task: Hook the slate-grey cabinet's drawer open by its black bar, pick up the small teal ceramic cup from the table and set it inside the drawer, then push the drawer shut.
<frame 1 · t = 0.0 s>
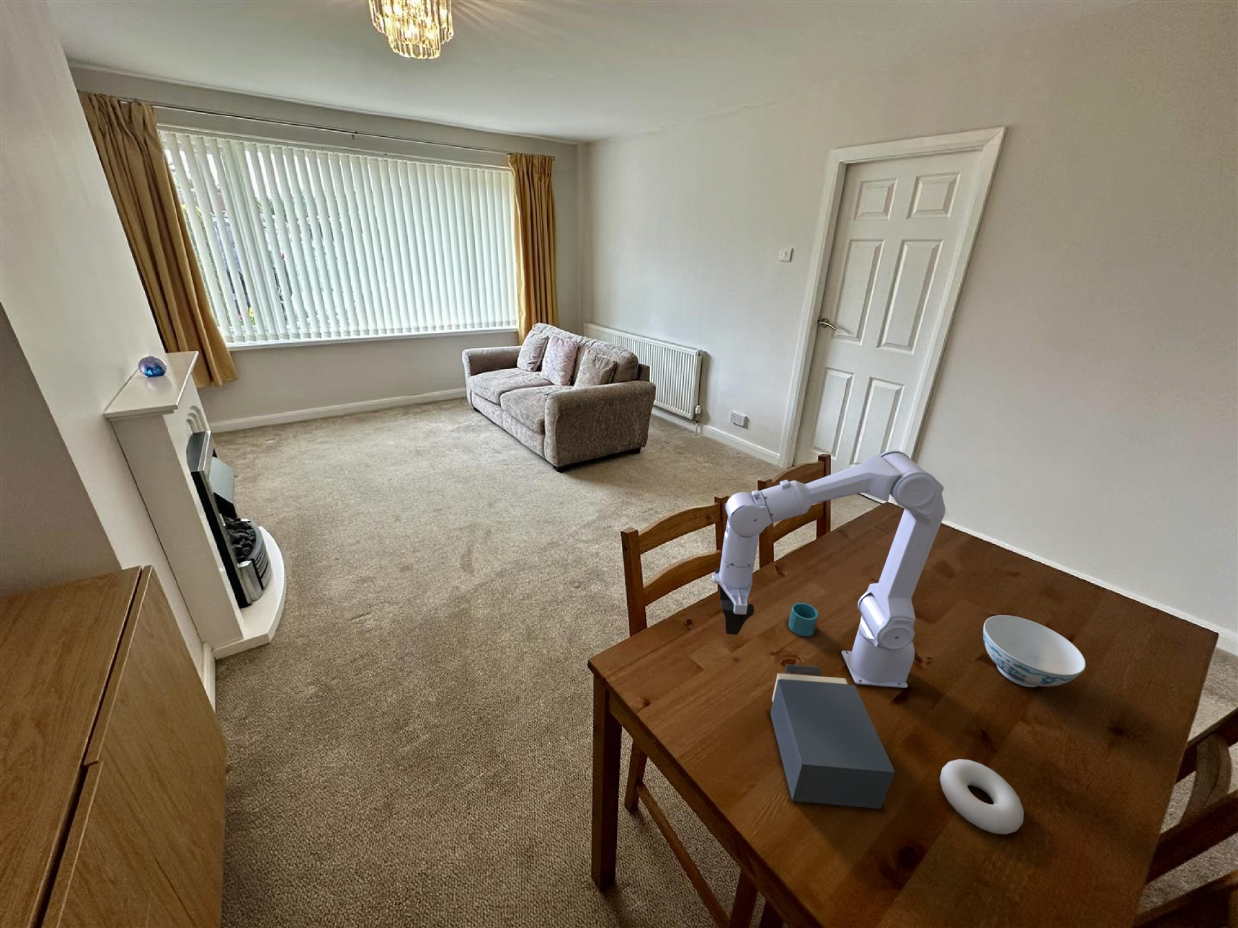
hand: (729, 618, 90), 10 cm above the table, tool pointing down, fingers open, 7 cm apart
donut: (976, 802, 71), on the table
cup: (801, 627, 103), on the table
cabinet: (820, 756, 76), on the table
chinaware: (1017, 673, 93), on the table
drawer: (816, 712, 79), point 4 cm above the table, slide at 1.0 cm
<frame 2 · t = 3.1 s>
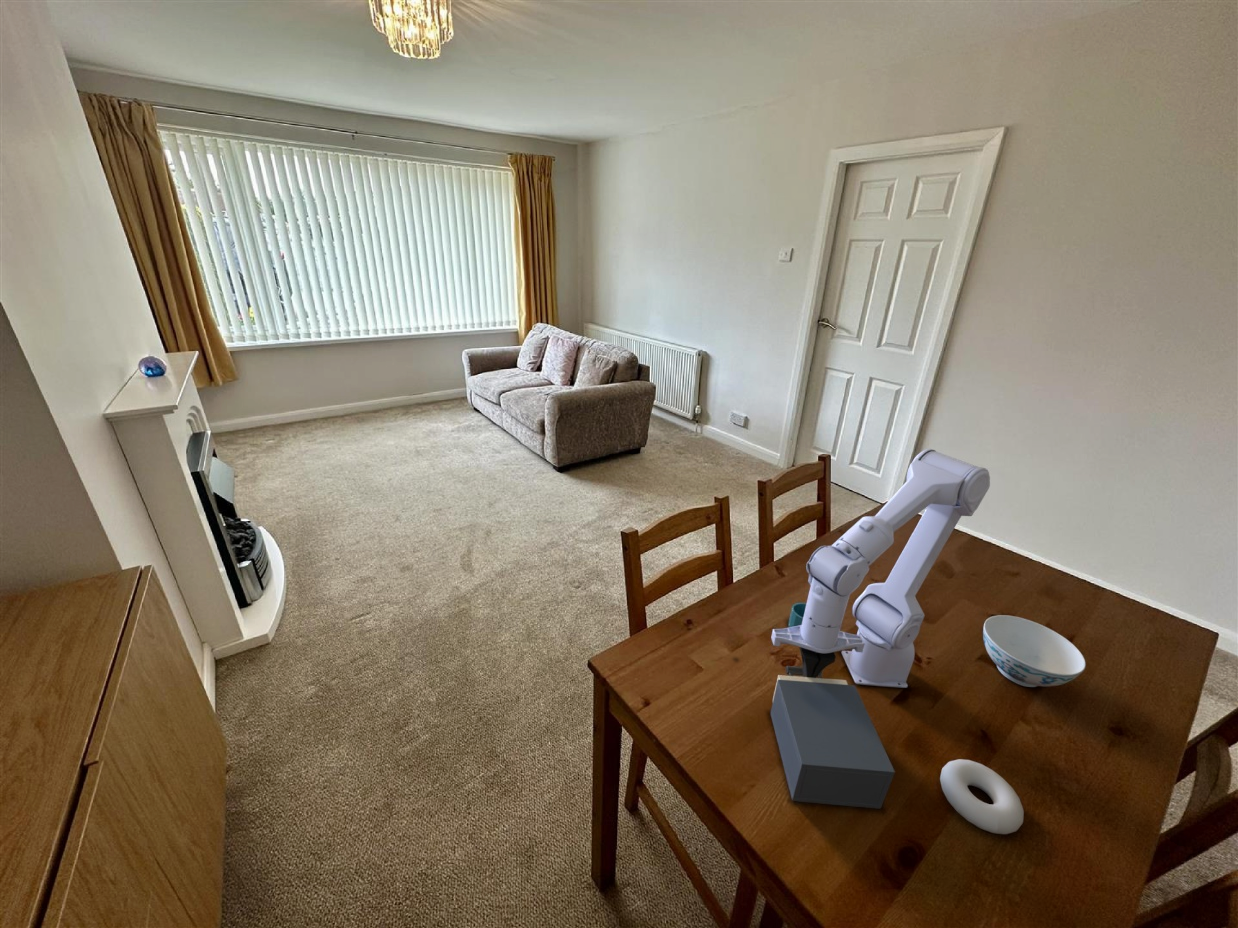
hand: (807, 676, 84), 6 cm above the table, tool pointing down, fingers closed
drawer: (816, 714, 79), point 4 cm above the table, slide at 0.6 cm
everything else where it was.
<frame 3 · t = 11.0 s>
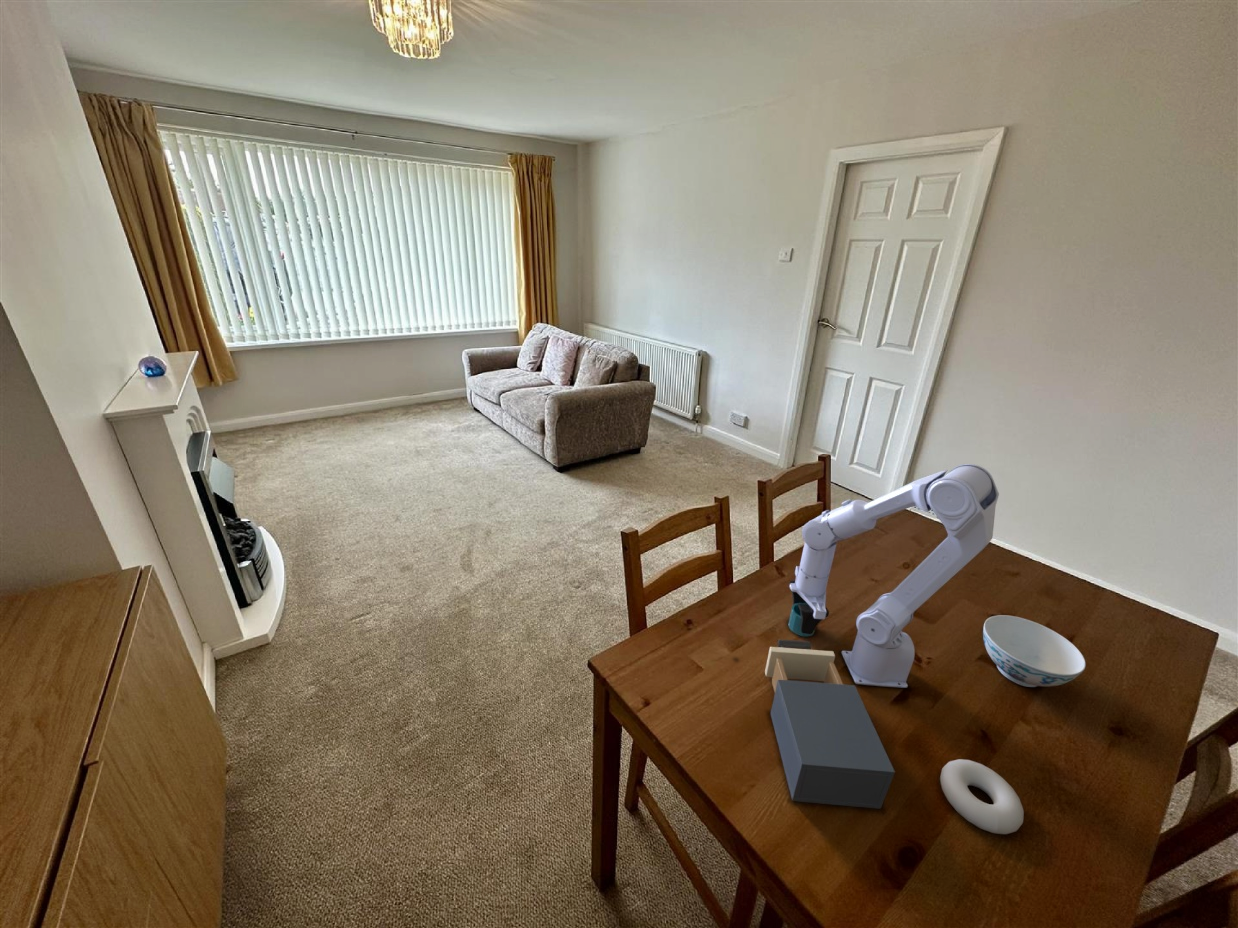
hand: (802, 622, 102), 1 cm above the table, tool pointing down, fingers closed on cup, 5 cm apart
cup: (801, 627, 103), on the table, touching gripper
drawer: (805, 682, 85), point 4 cm above the table, slide at 7.1 cm
everything else where it was.
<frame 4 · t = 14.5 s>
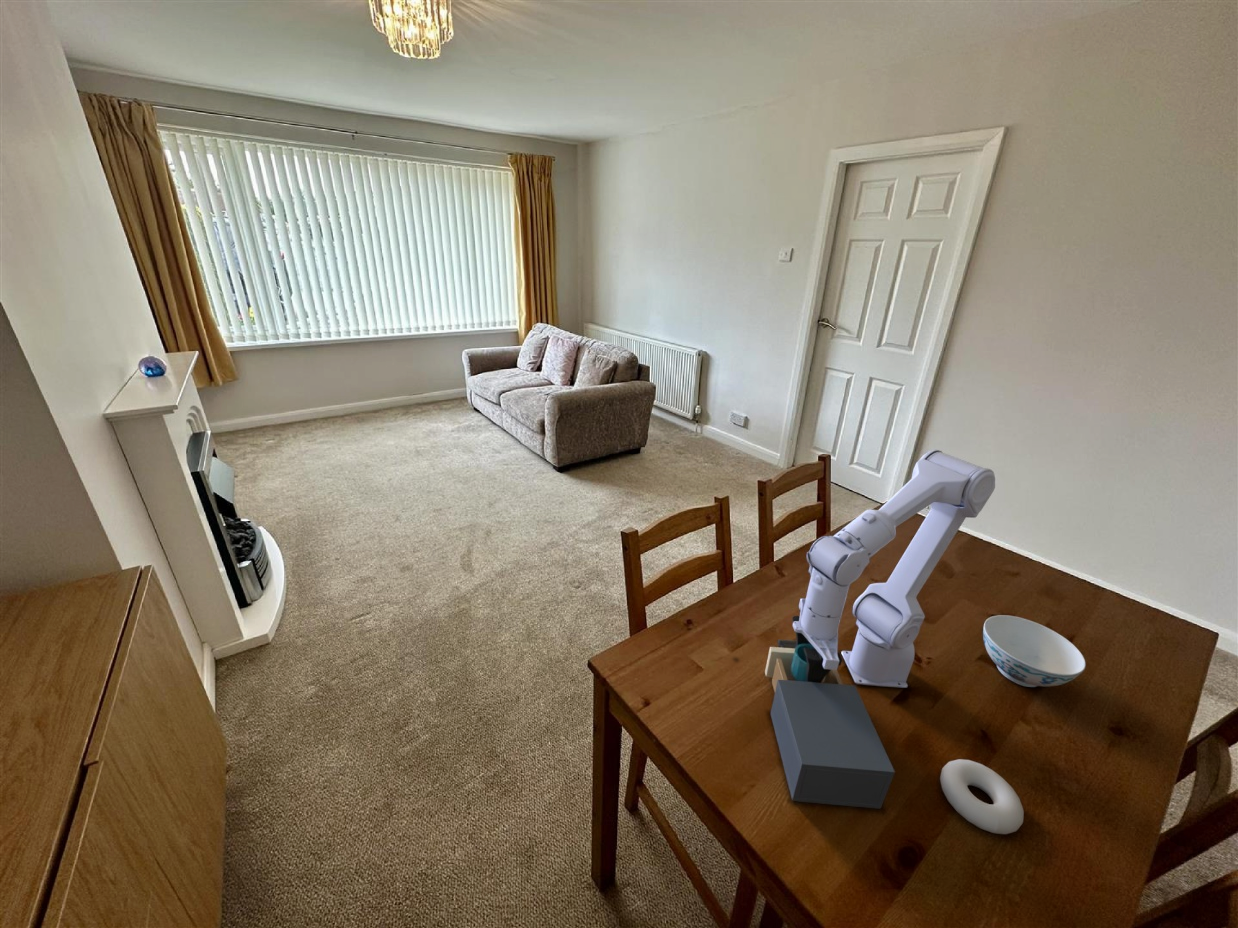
hand: (808, 667, 84), 7 cm above the table, tool pointing down, fingers closed on cup, 5 cm apart
cup: (806, 674, 84), point 6 cm above the table, touching gripper
drawer: (805, 682, 85), point 4 cm above the table, slide at 7.1 cm, touching gripper
everything else where it was.
when the fingers open (7 cm above the table, at t = 21.8 s): cup drops 3 cm, resting on drawer.
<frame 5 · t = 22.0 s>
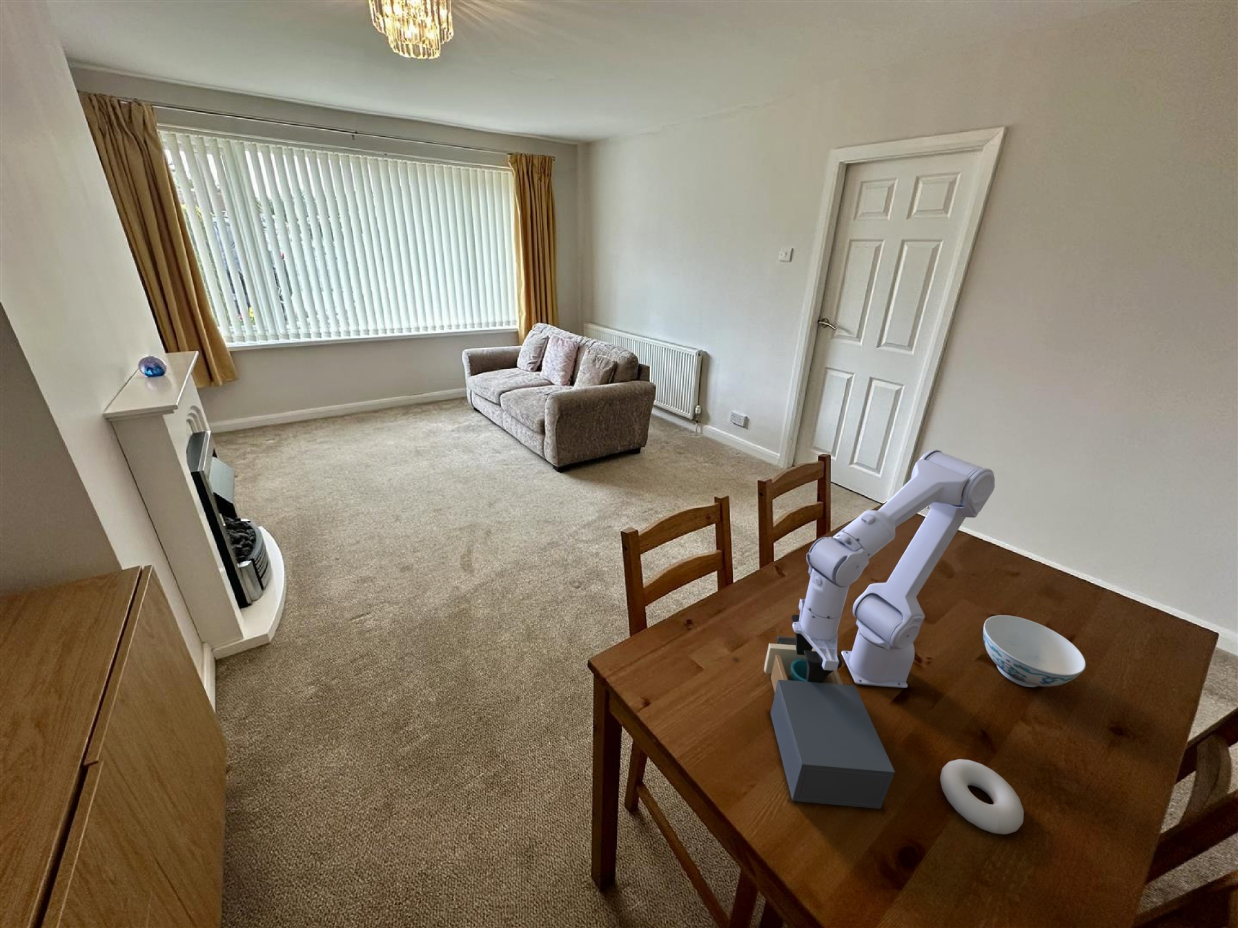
hand: (807, 668, 84), 7 cm above the table, tool pointing down, fingers open, 6 cm apart
cup: (802, 688, 86), point 2 cm above the table, touching drawer
drawer: (804, 678, 85), point 4 cm above the table, slide at 7.9 cm, touching cup
everything else where it was.
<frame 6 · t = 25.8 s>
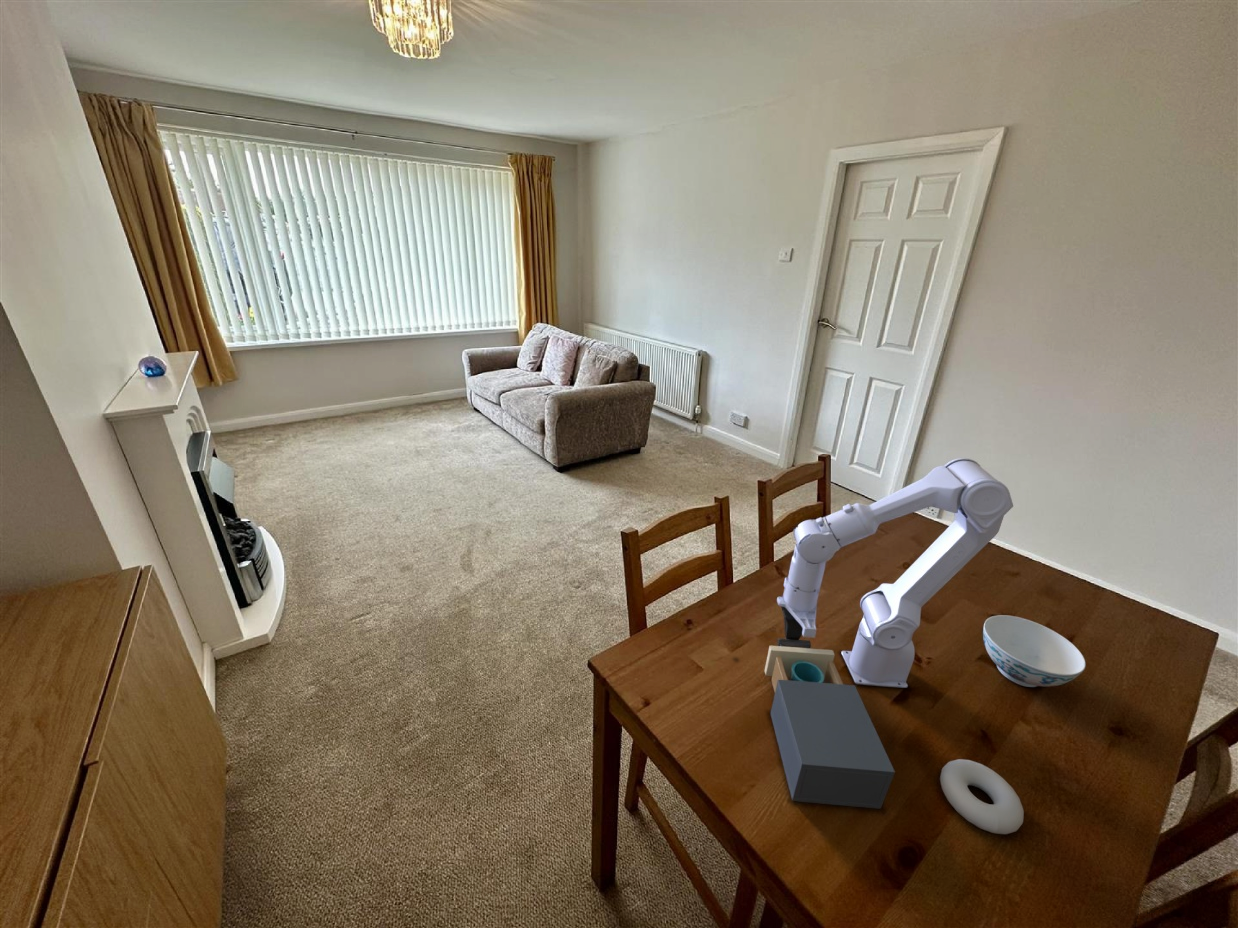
hand: (791, 639, 94), 4 cm above the table, tool pointing down, fingers closed
drawer: (805, 680, 85), point 4 cm above the table, slide at 7.4 cm, touching cup, gripper
everything else where it was.
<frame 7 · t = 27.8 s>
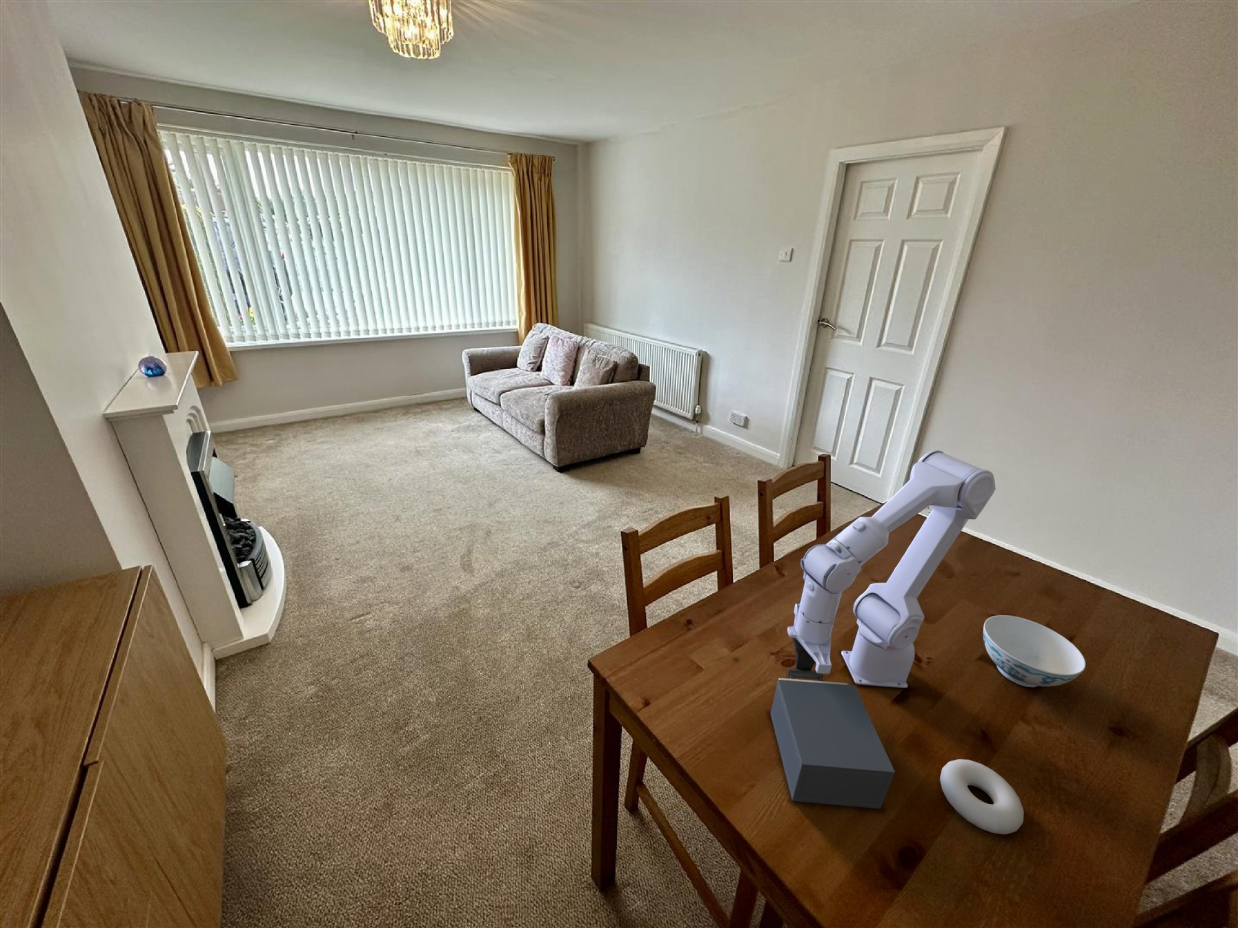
hand: (802, 671, 86), 4 cm above the table, tool pointing down, fingers closed, pressing on drawer
cup: (815, 729, 79), point 2 cm above the table, touching drawer
drawer: (817, 717, 78), point 4 cm above the table, slide at 0.0 cm, touching cabinet, cup, gripper
everything else where it was.
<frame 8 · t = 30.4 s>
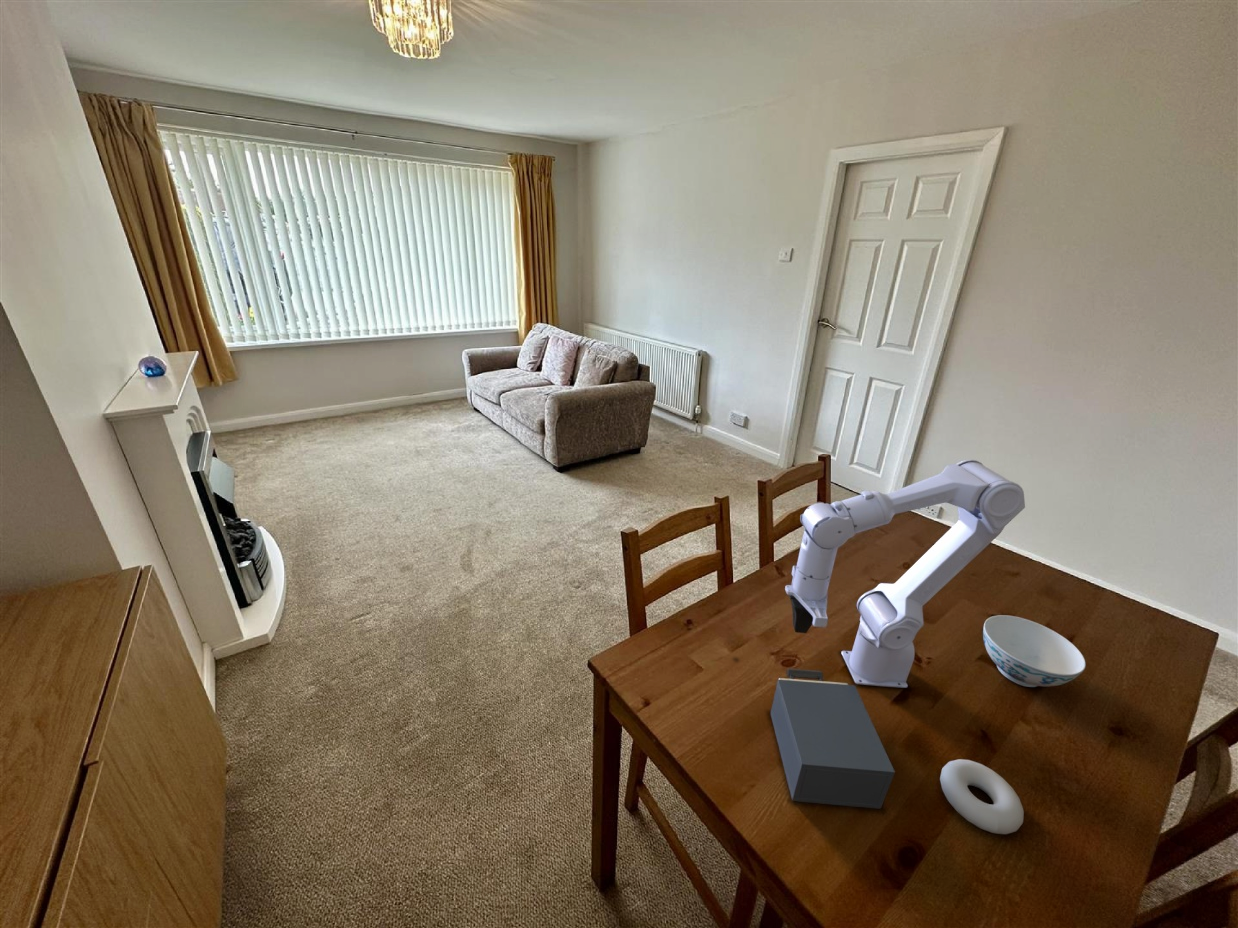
hand: (800, 630, 89), 9 cm above the table, tool pointing down, fingers closed
drawer: (817, 717, 78), point 4 cm above the table, slide at 0.0 cm, touching cup
everything else where it was.
at the end: drawer pulled out 7.9 cm at the most during the clip, back to where it started at the end; cup inside the target area in the cabinet (3.4 cm from its centre), point 2.0 cm above the cabinet's base; drawer slide at 0.0 cm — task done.
